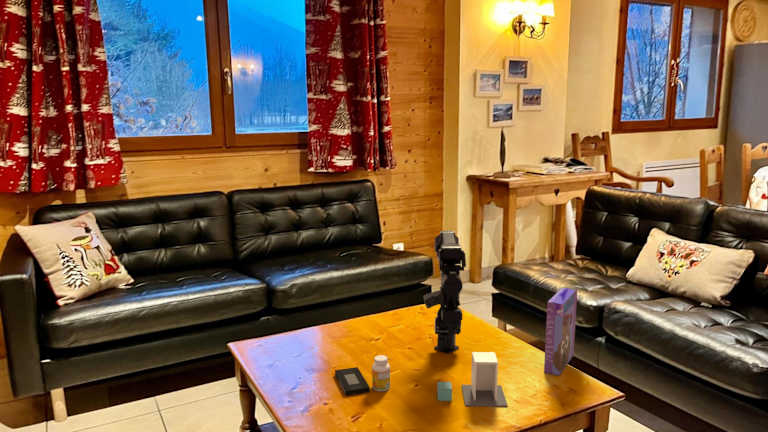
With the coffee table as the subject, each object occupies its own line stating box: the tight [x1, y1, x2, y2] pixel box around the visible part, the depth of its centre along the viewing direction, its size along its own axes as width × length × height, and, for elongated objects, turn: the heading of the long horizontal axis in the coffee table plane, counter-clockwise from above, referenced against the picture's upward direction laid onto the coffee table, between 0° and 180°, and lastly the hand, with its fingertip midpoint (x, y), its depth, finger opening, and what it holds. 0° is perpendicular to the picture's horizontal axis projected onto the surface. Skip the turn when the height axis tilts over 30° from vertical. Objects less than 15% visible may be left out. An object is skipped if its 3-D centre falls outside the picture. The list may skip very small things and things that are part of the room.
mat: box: [461, 384, 508, 408], centre depth 174 cm, size 12×12×1 cm
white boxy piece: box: [470, 351, 499, 401], centre depth 172 cm, size 7×7×12 cm
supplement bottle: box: [371, 354, 391, 392], centre depth 178 cm, size 5×5×10 cm
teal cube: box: [436, 381, 453, 402], centre depth 173 cm, size 4×4×4 cm
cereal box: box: [543, 286, 578, 377], centre depth 192 cm, size 17×5×24 cm, turn 148°
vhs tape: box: [334, 366, 371, 397], centre depth 182 cm, size 8×14×2 cm, turn 17°
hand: (449, 331), depth 189 cm, fingers open, 9 cm apart
